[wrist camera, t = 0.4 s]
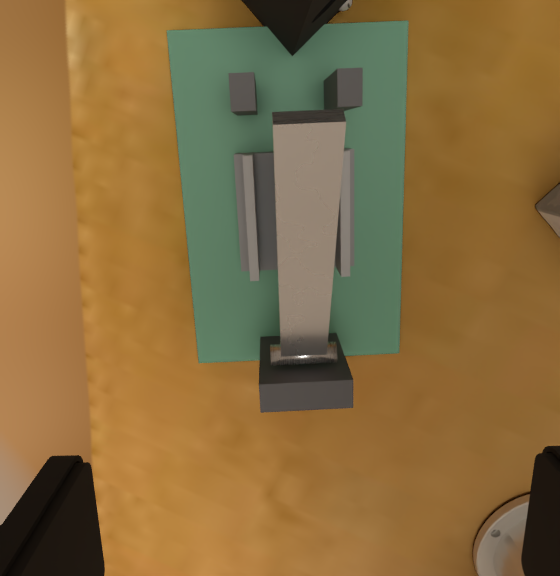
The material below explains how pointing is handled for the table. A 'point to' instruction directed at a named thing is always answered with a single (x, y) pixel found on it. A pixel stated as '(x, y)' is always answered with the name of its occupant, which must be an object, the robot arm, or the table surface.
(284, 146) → the grey long flat bar
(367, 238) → the board
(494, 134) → the table surface
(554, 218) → the hard drive box
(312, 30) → the electrical component
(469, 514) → the table surface
